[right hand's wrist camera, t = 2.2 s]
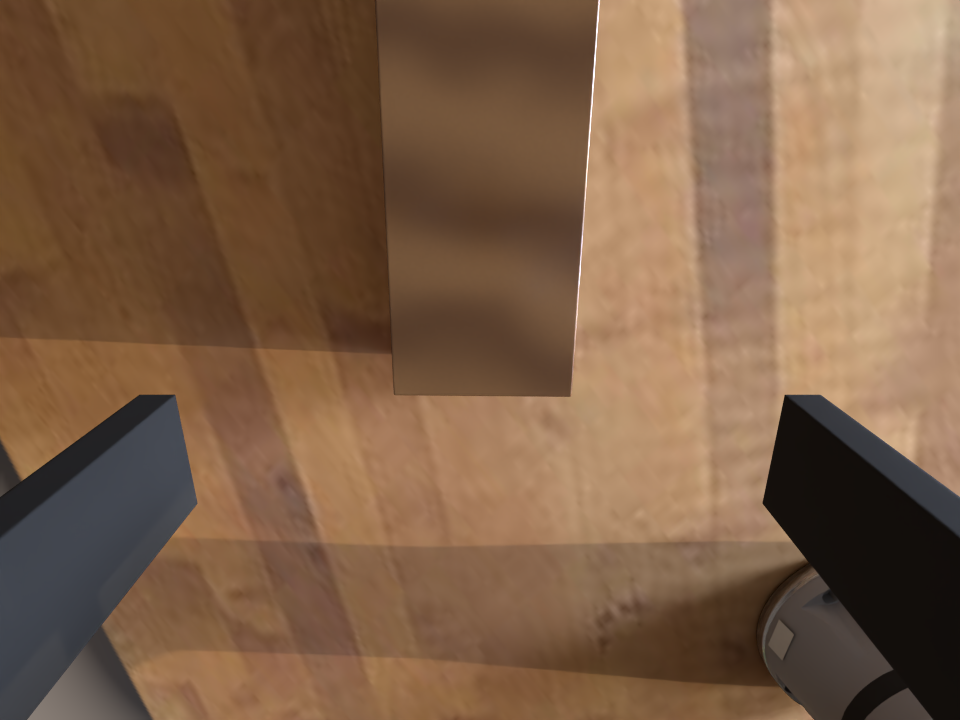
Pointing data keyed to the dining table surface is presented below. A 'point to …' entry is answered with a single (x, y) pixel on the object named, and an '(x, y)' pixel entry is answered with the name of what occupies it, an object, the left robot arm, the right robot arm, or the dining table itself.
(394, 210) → the wide beam
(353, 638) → the dining table surface
